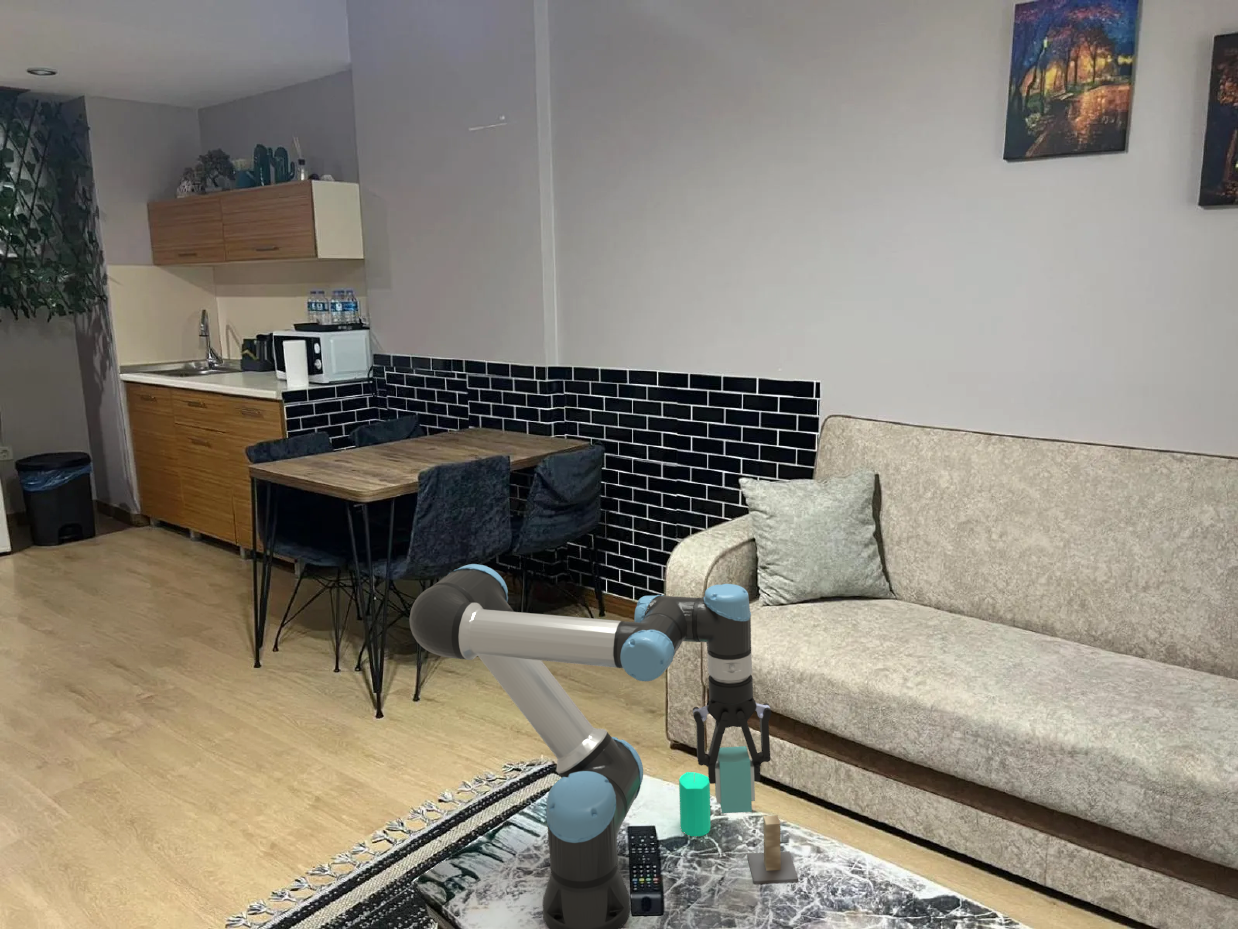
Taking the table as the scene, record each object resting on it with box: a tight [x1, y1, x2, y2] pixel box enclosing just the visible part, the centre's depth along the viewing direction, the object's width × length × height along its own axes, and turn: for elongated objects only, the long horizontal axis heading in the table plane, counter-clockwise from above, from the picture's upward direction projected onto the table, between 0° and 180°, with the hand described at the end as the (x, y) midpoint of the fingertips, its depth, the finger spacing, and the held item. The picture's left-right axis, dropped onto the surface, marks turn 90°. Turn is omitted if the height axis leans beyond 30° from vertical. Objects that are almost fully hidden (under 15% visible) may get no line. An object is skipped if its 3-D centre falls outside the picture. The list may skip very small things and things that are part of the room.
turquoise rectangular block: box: [717, 745, 753, 814], centre depth 161 cm, size 5×5×10 cm
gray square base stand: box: [746, 815, 799, 885], centre depth 168 cm, size 8×8×10 cm
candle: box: [678, 771, 712, 838], centre depth 181 cm, size 6×6×12 cm
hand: (735, 797), depth 161 cm, fingers closed on turquoise rectangular block, 5 cm apart
